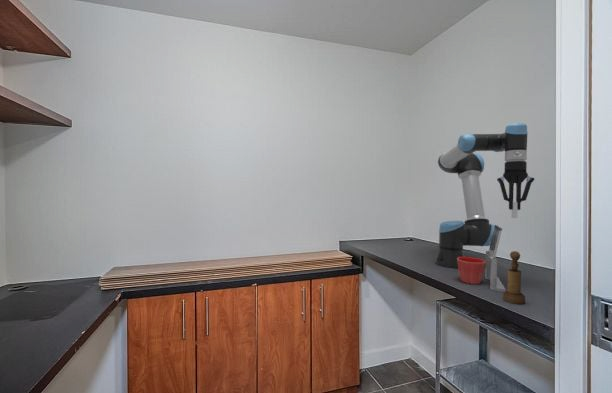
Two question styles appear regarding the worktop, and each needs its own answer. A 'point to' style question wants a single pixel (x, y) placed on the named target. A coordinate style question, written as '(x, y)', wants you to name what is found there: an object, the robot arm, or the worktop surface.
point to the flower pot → (470, 269)
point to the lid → (494, 241)
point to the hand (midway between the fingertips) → (514, 217)
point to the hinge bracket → (493, 274)
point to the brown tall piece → (514, 282)
